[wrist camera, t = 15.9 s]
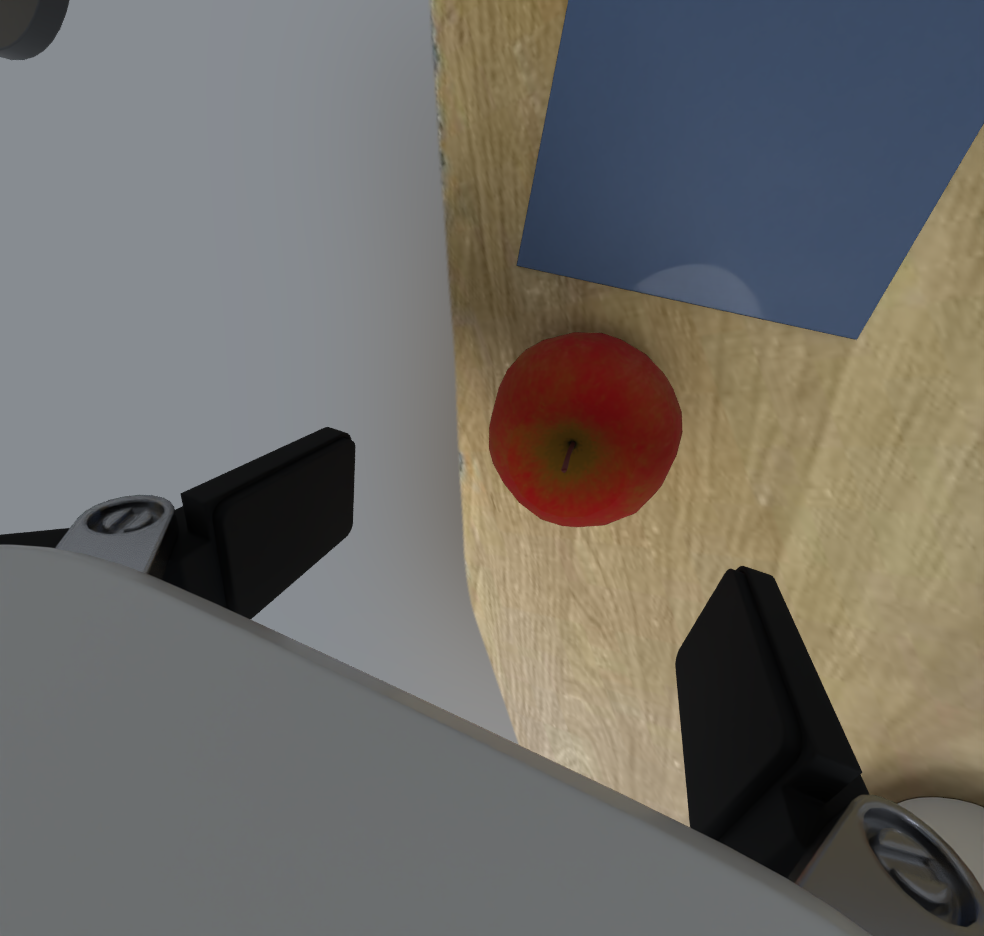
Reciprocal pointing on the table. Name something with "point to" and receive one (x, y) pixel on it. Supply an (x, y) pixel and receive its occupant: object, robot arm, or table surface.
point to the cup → (955, 827)
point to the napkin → (753, 149)
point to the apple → (584, 429)
